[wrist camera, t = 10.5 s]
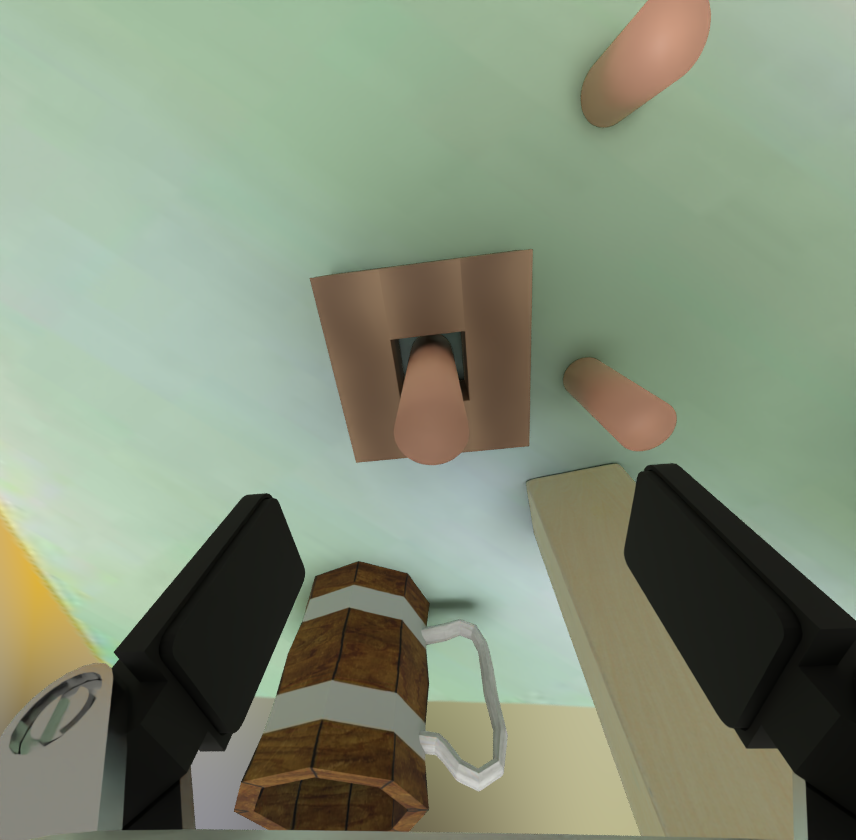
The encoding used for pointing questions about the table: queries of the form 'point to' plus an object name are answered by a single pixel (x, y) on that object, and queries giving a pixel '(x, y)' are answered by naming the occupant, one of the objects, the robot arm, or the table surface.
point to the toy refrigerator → (648, 676)
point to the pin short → (645, 58)
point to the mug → (360, 712)
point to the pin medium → (620, 404)
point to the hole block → (428, 315)
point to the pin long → (431, 405)
